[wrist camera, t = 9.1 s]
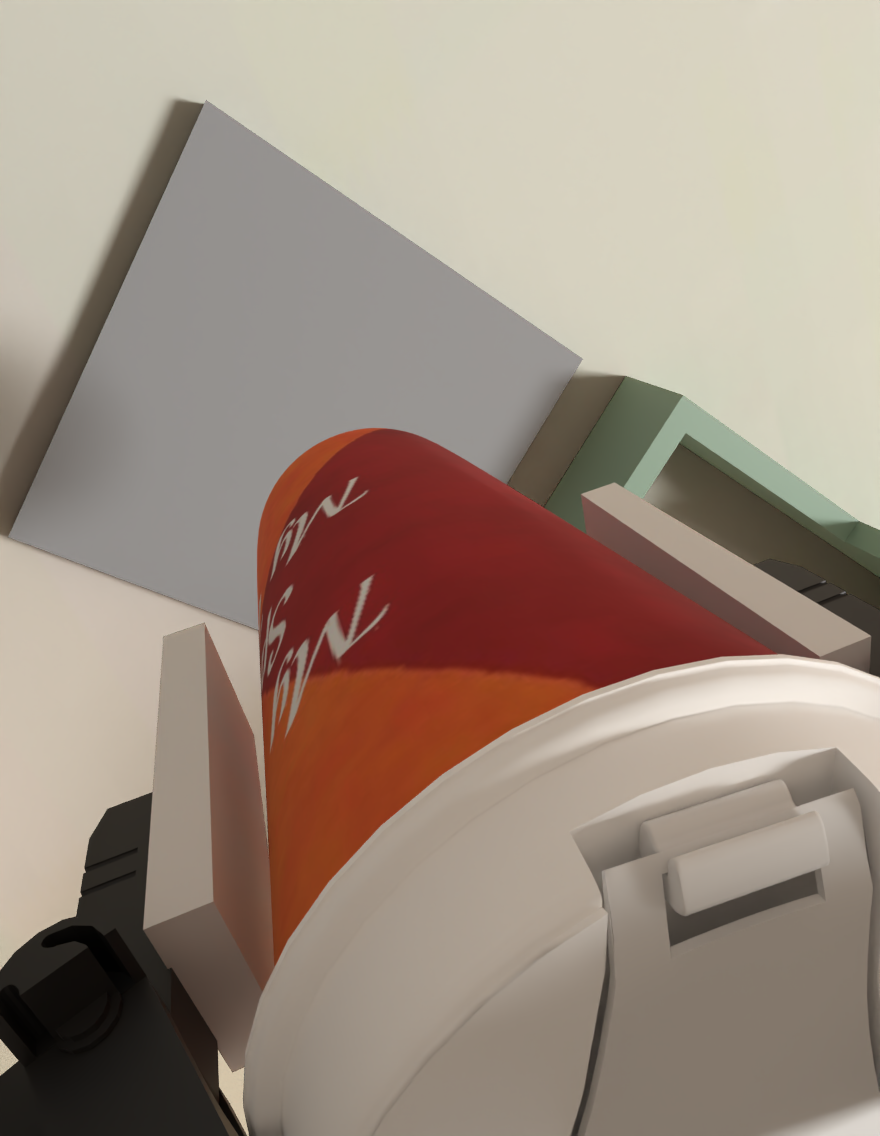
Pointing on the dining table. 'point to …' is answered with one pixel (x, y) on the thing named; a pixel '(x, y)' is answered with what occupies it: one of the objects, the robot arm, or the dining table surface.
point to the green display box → (664, 419)
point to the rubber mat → (267, 371)
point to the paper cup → (546, 831)
